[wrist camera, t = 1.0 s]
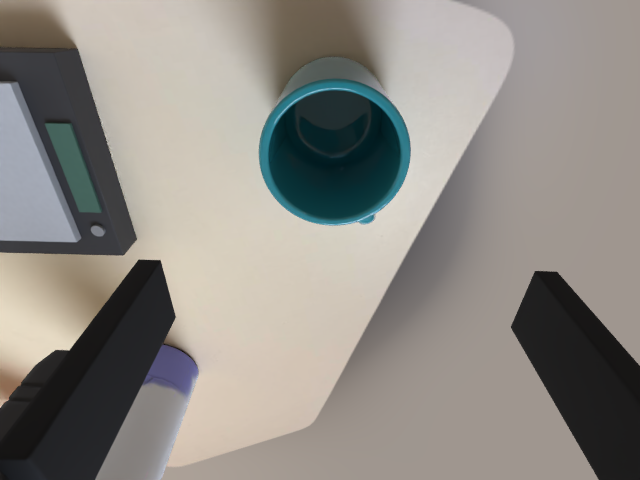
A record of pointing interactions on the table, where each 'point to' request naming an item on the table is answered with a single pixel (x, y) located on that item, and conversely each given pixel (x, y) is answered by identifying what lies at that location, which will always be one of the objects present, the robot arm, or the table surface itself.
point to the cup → (334, 144)
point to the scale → (55, 160)
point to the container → (152, 420)
